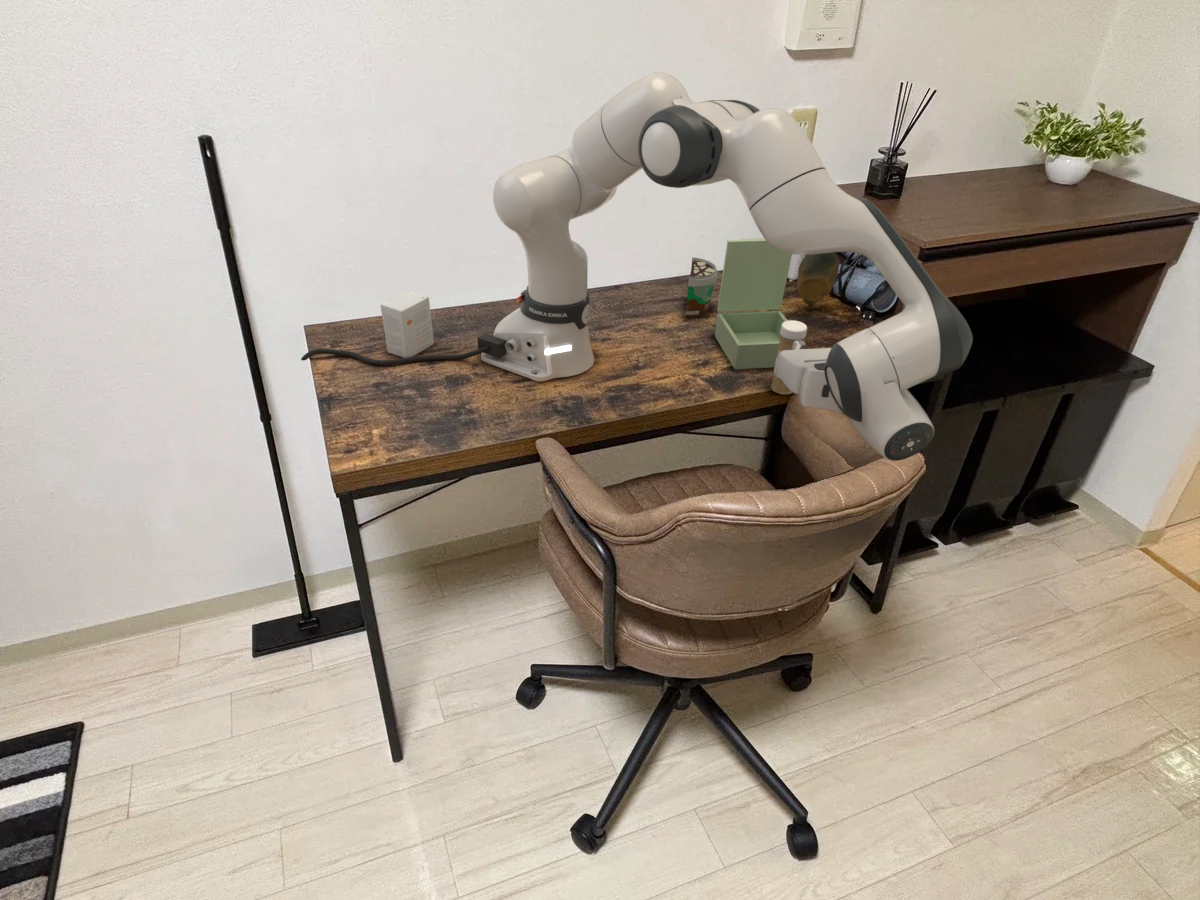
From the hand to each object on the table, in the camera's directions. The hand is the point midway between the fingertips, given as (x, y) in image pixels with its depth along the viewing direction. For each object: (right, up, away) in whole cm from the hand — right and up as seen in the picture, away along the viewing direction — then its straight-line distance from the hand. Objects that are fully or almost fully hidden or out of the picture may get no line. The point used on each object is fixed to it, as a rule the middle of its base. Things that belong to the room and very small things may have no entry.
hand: (824, 343), depth 126 cm
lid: (-5, +17, +29) cm, 35 cm away
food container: (-14, +14, +48) cm, 52 cm away
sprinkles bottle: (-2, -6, +19) cm, 20 cm away
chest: (-5, +3, +32) cm, 32 cm away
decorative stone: (+12, +15, +50) cm, 53 cm away
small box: (-75, +3, +29) cm, 80 cm away
